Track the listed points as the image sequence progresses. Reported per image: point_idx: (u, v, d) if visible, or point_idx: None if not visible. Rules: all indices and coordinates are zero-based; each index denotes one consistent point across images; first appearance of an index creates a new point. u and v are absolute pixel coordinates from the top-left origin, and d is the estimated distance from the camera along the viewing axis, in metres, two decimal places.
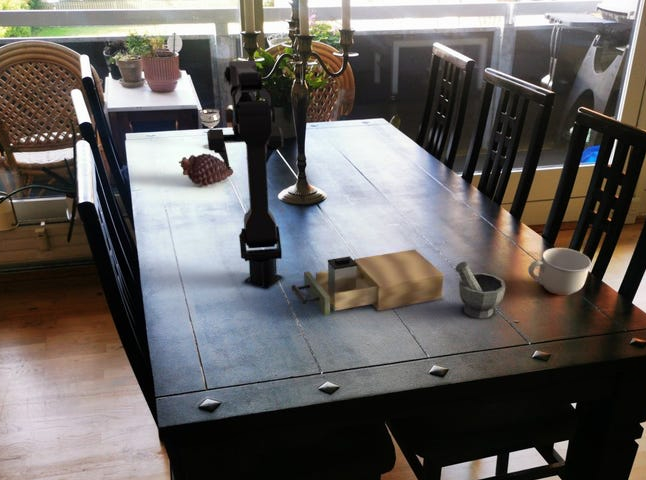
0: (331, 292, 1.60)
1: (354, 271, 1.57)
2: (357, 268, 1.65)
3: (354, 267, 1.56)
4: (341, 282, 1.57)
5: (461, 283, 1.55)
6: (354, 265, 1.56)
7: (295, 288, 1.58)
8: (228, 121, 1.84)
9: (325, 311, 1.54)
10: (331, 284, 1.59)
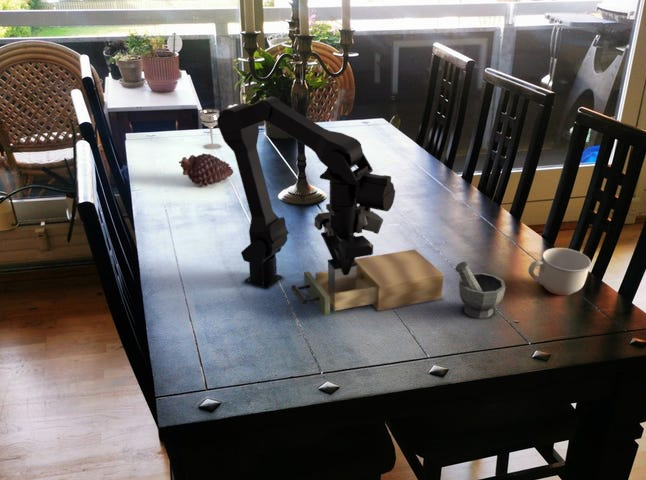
0: (331, 292, 1.60)
1: (354, 271, 1.57)
2: (357, 268, 1.65)
3: (354, 267, 1.56)
4: (341, 282, 1.57)
5: (461, 283, 1.55)
6: (354, 265, 1.56)
7: (295, 288, 1.58)
8: None
9: (325, 311, 1.54)
10: (331, 283, 1.59)
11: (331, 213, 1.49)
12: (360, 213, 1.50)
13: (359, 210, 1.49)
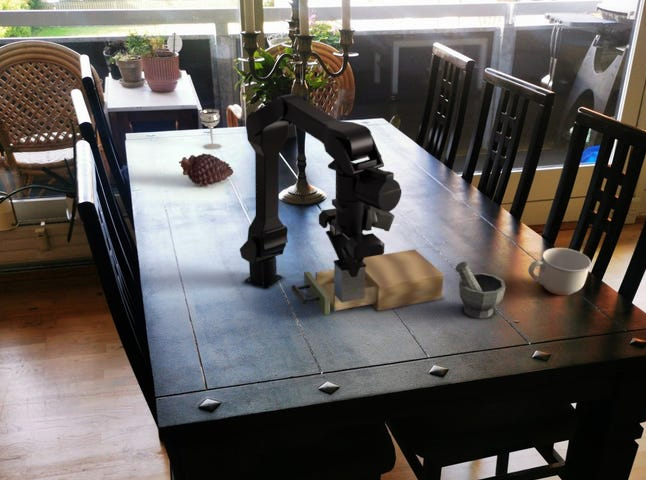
0: (338, 296, 1.46)
1: (363, 272, 1.43)
2: None
3: (363, 268, 1.43)
4: (348, 285, 1.43)
5: (461, 283, 1.55)
6: (363, 266, 1.42)
7: (295, 288, 1.58)
8: None
9: (325, 311, 1.54)
10: (337, 286, 1.45)
11: (337, 209, 1.36)
12: (369, 209, 1.36)
13: (368, 205, 1.36)
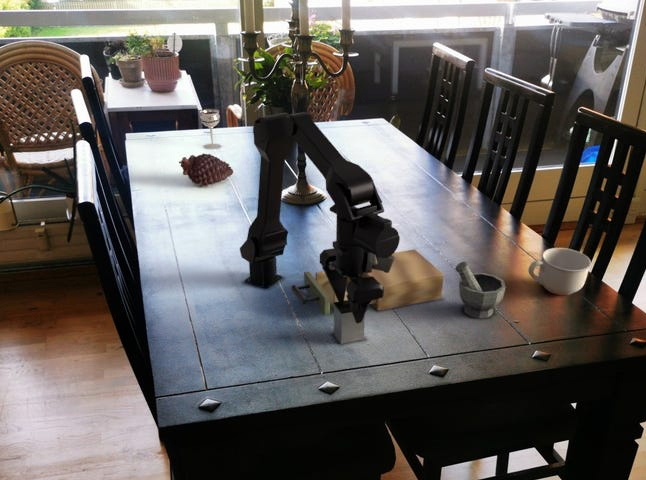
0: (337, 337, 1.48)
1: None
2: None
3: None
4: (348, 327, 1.45)
5: (461, 283, 1.55)
6: None
7: (295, 288, 1.58)
8: None
9: (325, 311, 1.54)
10: (337, 328, 1.47)
11: (338, 252, 1.37)
12: (370, 252, 1.37)
13: None
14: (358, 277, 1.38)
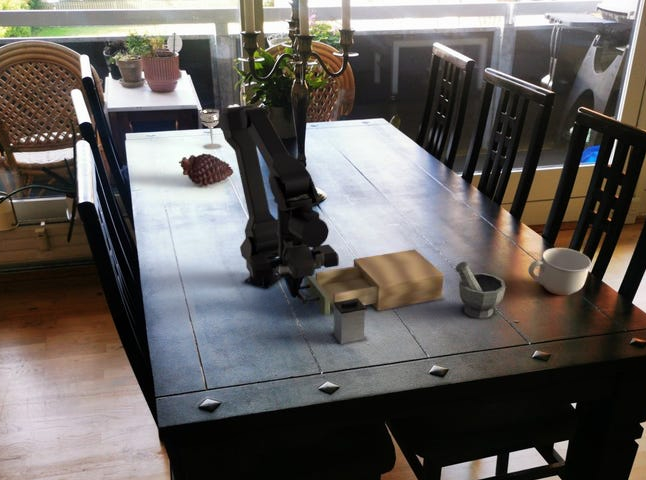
0: (337, 337, 1.48)
1: (362, 315, 1.45)
2: (357, 268, 1.65)
3: (362, 311, 1.45)
4: (348, 327, 1.45)
5: (461, 283, 1.55)
6: (362, 309, 1.44)
7: None
8: None
9: (325, 311, 1.54)
10: (337, 328, 1.47)
11: None
12: (285, 245, 1.47)
13: (284, 242, 1.46)
14: (274, 259, 1.51)
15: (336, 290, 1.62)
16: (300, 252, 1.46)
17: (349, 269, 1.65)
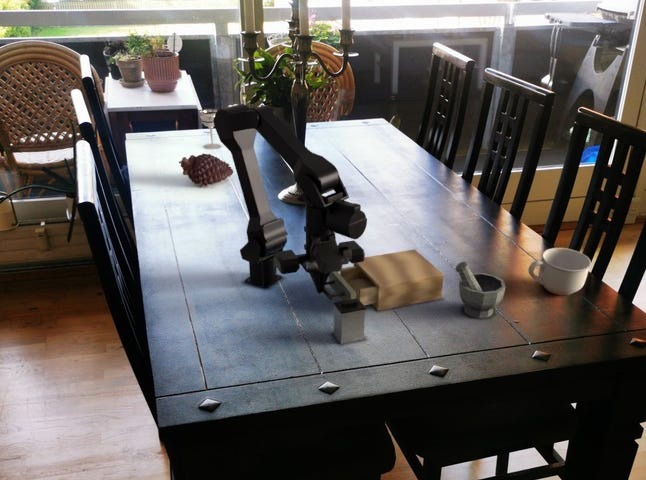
0: (337, 337, 1.48)
1: (362, 315, 1.45)
2: None
3: (362, 311, 1.45)
4: (348, 327, 1.45)
5: (461, 283, 1.55)
6: (362, 309, 1.44)
7: None
8: None
9: None
10: (337, 328, 1.47)
11: None
12: (313, 241, 1.48)
13: (312, 237, 1.48)
14: (301, 255, 1.52)
15: (360, 286, 1.64)
16: (328, 248, 1.48)
17: None
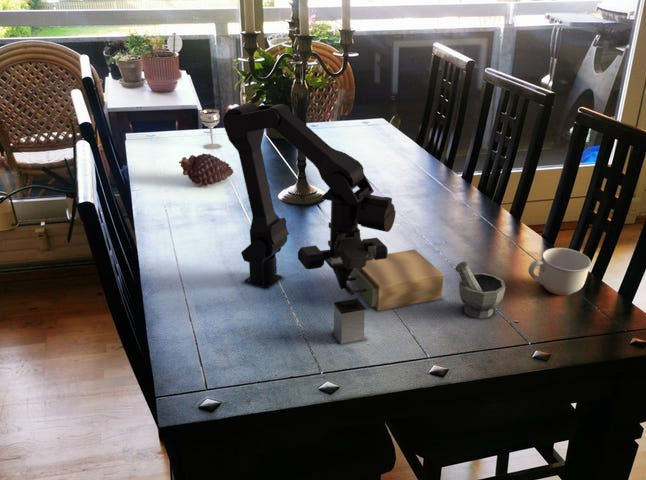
0: (337, 337, 1.48)
1: (362, 315, 1.45)
2: None
3: (362, 311, 1.45)
4: (348, 327, 1.45)
5: (461, 283, 1.55)
6: (362, 309, 1.44)
7: None
8: None
9: (373, 302, 1.58)
10: (337, 328, 1.47)
11: None
12: (338, 237, 1.50)
13: (338, 233, 1.50)
14: (325, 250, 1.54)
15: None
16: (353, 244, 1.50)
17: None
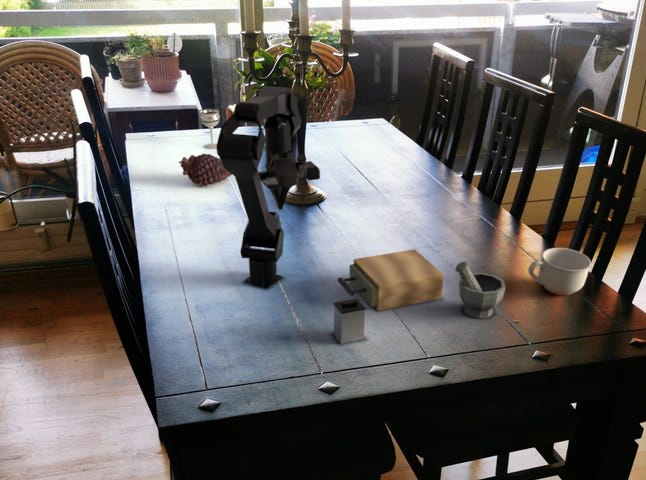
0: (337, 337, 1.48)
1: (362, 315, 1.45)
2: None
3: (362, 311, 1.45)
4: (348, 327, 1.45)
5: (461, 283, 1.55)
6: (362, 309, 1.44)
7: (342, 280, 1.62)
8: None
9: (373, 302, 1.58)
10: (337, 328, 1.47)
11: None
12: (271, 157, 1.65)
13: (271, 154, 1.65)
14: (262, 172, 1.69)
15: None
16: (285, 163, 1.65)
17: None
